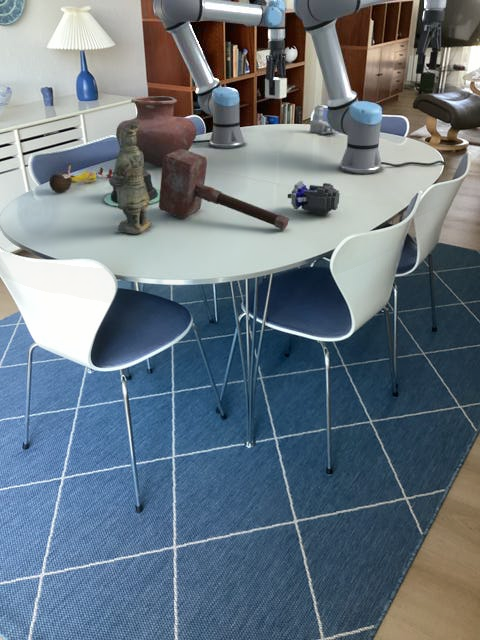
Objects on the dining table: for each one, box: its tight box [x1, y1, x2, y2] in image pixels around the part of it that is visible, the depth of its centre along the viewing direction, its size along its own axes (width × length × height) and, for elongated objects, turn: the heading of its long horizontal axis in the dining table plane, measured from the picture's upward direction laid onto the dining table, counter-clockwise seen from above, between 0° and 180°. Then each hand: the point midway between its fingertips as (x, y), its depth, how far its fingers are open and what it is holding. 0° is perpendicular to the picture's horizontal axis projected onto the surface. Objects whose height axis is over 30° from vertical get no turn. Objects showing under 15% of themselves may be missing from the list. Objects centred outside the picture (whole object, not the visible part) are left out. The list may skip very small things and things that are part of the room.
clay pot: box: [115, 95, 197, 166], centre depth 218 cm, size 30×30×25 cm
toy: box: [287, 180, 341, 216], centre depth 168 cm, size 9×9×15 cm
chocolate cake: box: [103, 168, 160, 207], centre depth 186 cm, size 15×19×20 cm
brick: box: [264, 77, 288, 100], centre depth 261 cm, size 6×8×8 cm
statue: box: [108, 121, 153, 235], centre depth 154 cm, size 11×9×30 cm
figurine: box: [48, 164, 113, 193], centre depth 199 cm, size 13×8×25 cm
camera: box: [309, 105, 337, 135], centre depth 263 cm, size 9×12×15 cm
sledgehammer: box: [158, 149, 290, 231], centre depth 163 cm, size 17×10×40 cm
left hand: (275, 94), depth 263 cm, fingers closed on brick, 6 cm apart
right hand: (425, 71), depth 216 cm, fingers open, 13 cm apart
